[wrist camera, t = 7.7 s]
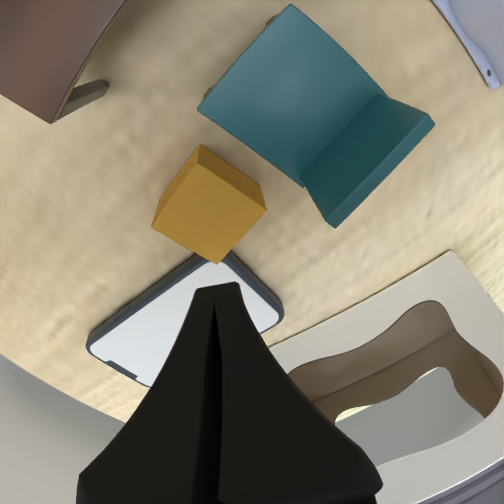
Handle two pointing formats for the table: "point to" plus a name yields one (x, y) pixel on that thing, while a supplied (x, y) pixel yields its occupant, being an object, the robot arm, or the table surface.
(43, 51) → the side table
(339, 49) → the chair
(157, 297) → the phone case
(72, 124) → the table surface
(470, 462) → the gable box
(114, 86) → the table surface
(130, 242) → the table surface
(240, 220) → the mustard yellow block
